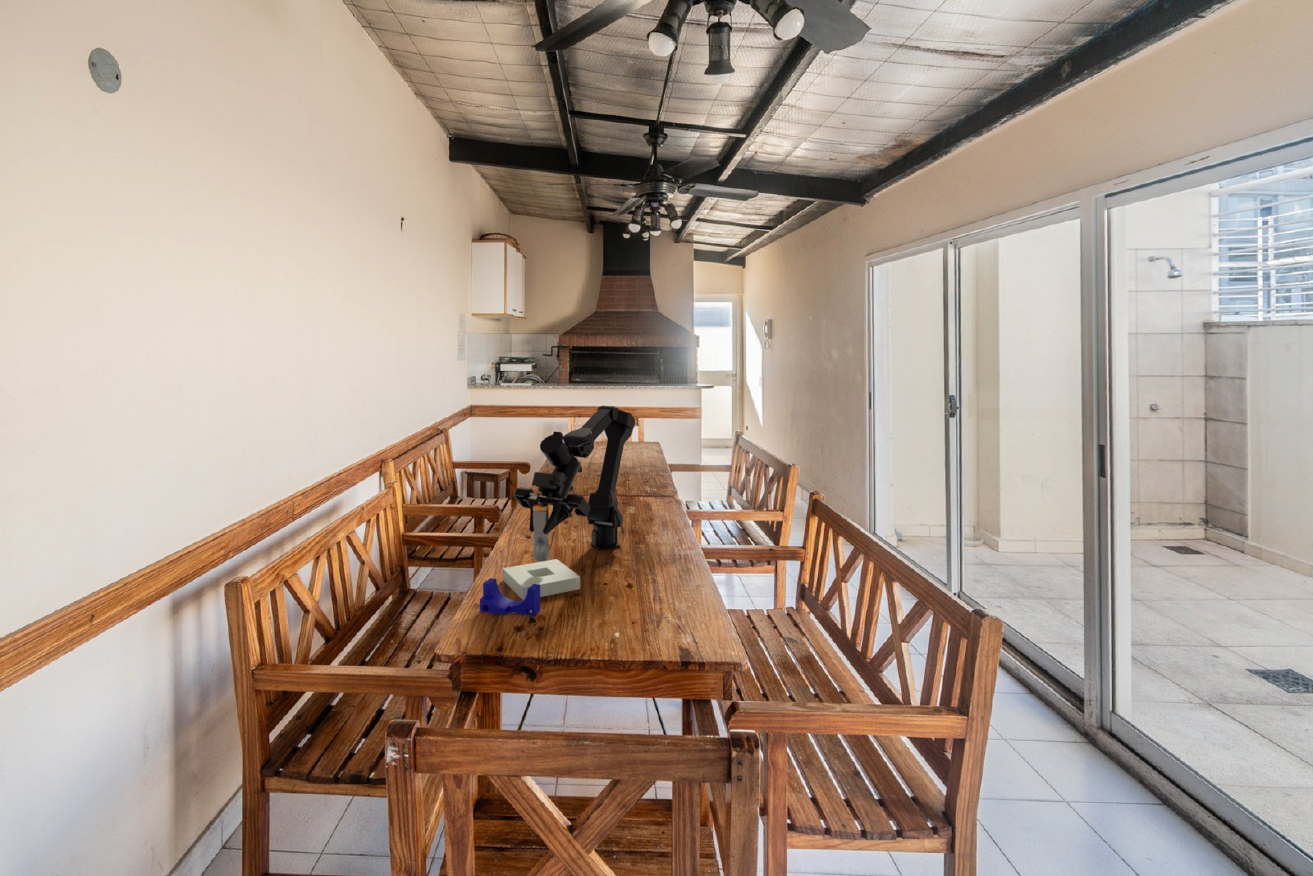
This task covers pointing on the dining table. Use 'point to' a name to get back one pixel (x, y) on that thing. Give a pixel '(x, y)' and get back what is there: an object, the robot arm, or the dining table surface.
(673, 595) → the dining table surface
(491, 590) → the blue cradle bracket
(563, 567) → the block
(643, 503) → the dining table surface
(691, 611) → the dining table surface
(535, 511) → the steel pin
